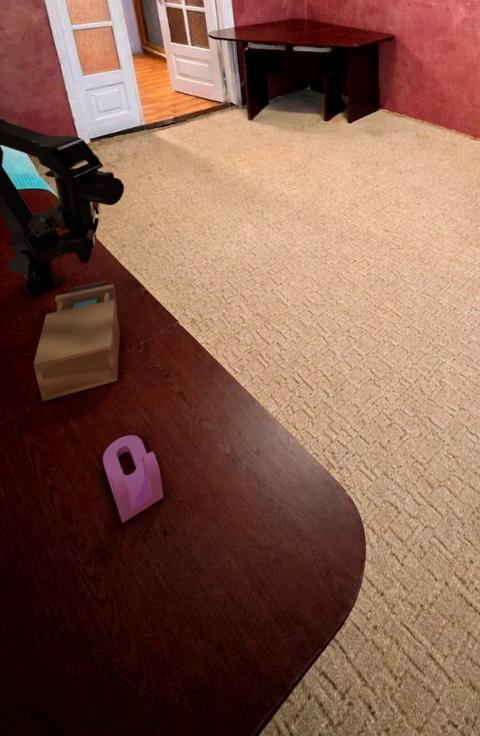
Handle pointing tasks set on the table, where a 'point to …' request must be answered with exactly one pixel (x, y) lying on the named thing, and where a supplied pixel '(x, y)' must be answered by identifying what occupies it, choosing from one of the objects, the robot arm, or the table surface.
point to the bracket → (132, 477)
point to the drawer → (86, 295)
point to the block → (85, 303)
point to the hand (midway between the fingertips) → (86, 258)
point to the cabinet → (78, 350)
